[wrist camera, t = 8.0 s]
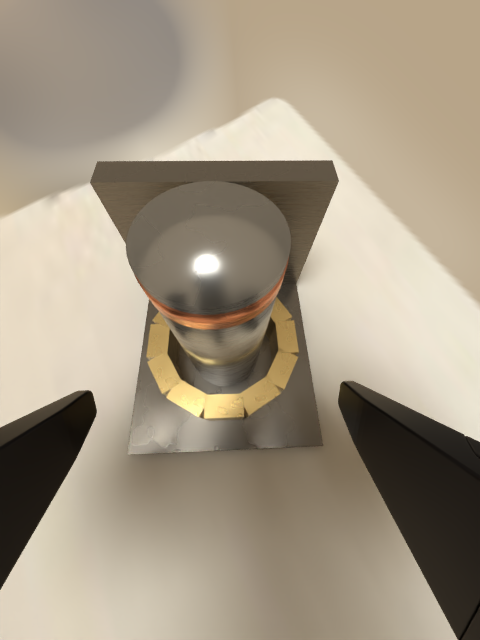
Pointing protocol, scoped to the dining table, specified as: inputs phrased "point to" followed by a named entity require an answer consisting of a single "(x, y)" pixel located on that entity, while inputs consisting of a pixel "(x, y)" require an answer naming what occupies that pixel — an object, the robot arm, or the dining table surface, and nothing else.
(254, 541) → the dining table surface
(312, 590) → the dining table surface
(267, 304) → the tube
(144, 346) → the collar stand
